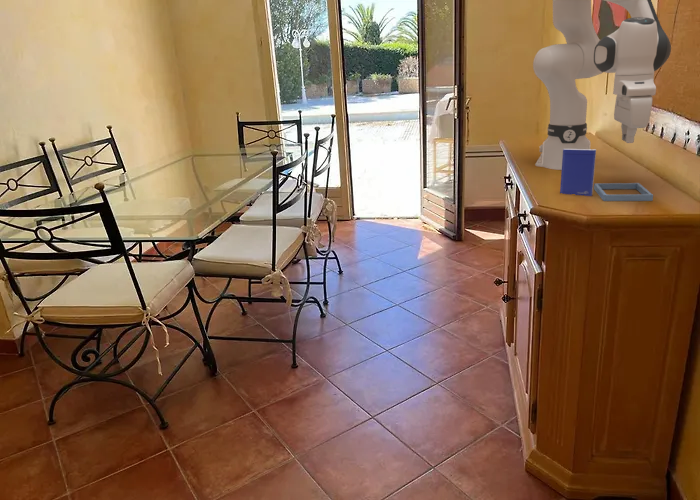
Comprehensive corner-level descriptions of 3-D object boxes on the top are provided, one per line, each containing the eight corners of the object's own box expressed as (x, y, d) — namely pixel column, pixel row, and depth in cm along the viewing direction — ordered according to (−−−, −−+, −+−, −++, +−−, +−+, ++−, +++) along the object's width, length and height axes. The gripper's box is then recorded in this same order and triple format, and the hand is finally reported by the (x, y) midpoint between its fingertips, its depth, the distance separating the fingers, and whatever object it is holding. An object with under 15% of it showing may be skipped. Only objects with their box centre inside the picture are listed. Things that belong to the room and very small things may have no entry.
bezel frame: (593, 188, 154) (594, 183, 154) (638, 188, 151) (639, 182, 151) (603, 200, 142) (604, 195, 141) (652, 200, 139) (653, 195, 138)
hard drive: (591, 196, 147) (595, 150, 143) (559, 194, 151) (562, 149, 147) (592, 194, 148) (596, 149, 144) (560, 193, 152) (563, 148, 148)
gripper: (610, 85, 147) (606, 136, 152) (629, 89, 129) (623, 148, 133) (635, 83, 146) (630, 135, 150) (658, 88, 127) (652, 147, 132)
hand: (627, 141), depth 142 cm, fingers closed
